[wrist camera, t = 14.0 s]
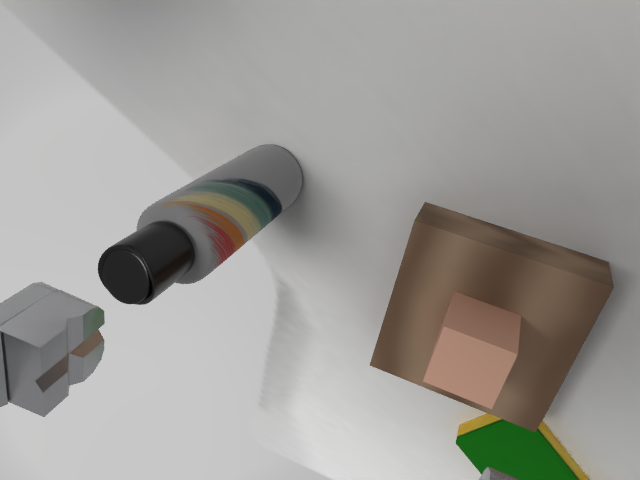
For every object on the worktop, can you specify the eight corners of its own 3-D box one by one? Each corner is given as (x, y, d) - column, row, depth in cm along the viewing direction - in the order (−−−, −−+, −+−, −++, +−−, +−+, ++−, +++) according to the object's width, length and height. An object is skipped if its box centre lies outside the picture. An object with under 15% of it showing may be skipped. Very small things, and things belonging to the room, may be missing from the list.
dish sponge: (545, 530, 53) (545, 552, 51) (457, 422, 52) (453, 441, 50) (617, 511, 50) (620, 534, 47) (524, 395, 48) (523, 414, 46)
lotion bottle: (247, 204, 50) (92, 317, 33) (240, 141, 48) (69, 228, 31) (306, 209, 48) (173, 331, 31) (301, 143, 46) (155, 238, 29)
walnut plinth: (381, 339, 51) (369, 365, 47) (425, 202, 44) (414, 220, 41) (536, 400, 47) (535, 432, 44) (608, 262, 41) (613, 287, 37)
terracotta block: (434, 342, 44) (422, 381, 40) (454, 291, 42) (443, 326, 37) (497, 367, 43) (491, 409, 39) (521, 315, 41) (517, 354, 36)
